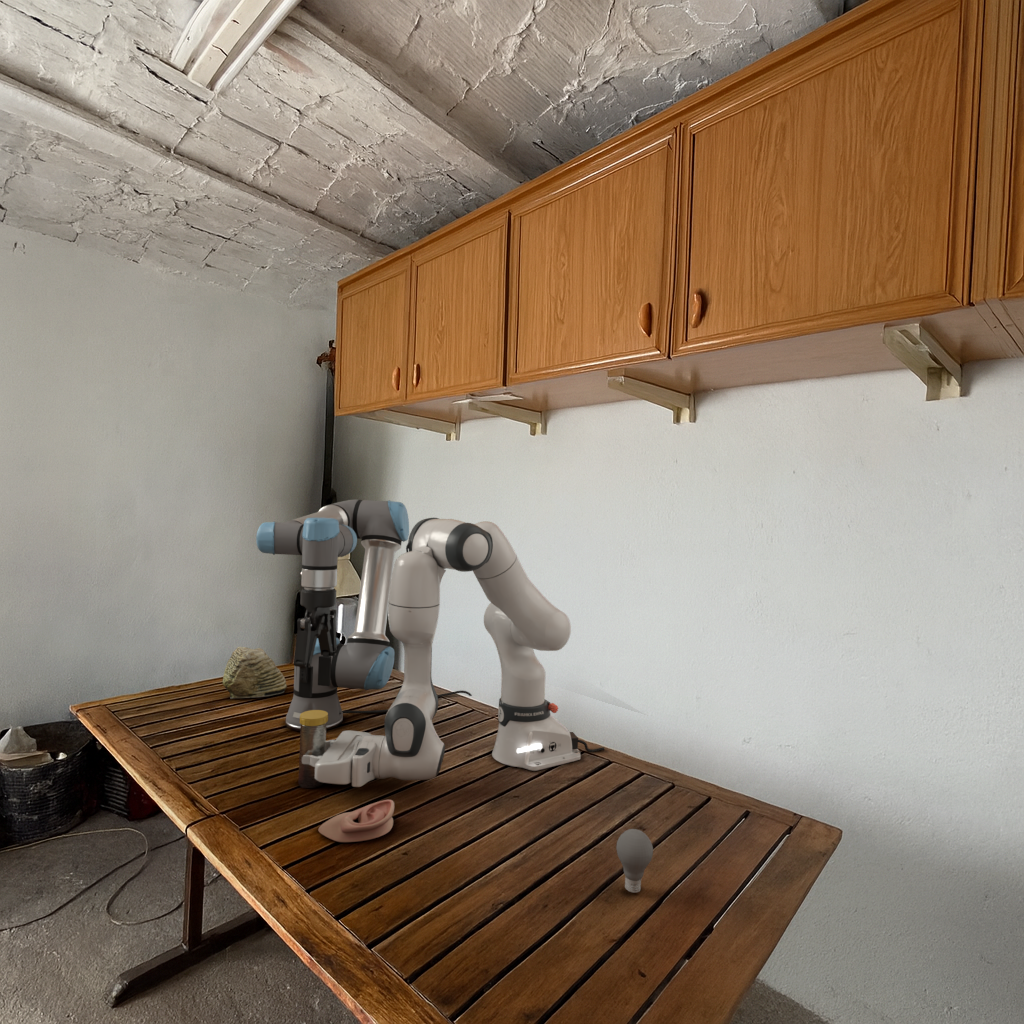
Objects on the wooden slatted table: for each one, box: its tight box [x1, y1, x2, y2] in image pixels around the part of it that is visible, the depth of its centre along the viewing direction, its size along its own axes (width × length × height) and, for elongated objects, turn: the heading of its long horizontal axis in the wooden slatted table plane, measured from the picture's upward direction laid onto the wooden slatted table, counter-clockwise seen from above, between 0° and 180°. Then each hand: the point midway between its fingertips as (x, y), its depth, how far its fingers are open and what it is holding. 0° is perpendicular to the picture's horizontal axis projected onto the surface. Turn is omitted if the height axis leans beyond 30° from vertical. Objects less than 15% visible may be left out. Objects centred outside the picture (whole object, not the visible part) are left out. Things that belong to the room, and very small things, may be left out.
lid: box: [300, 710, 328, 726], centre depth 140 cm, size 6×6×2 cm
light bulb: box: [615, 828, 654, 894], centre depth 106 cm, size 6×6×10 cm
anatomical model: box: [317, 799, 395, 843], centre depth 122 cm, size 13×4×12 cm
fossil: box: [222, 646, 288, 699], centre depth 198 cm, size 9×18×15 cm, turn 132°
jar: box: [298, 722, 327, 789], centre depth 140 cm, size 5×5×15 cm
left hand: (314, 690), depth 140 cm, fingers open, 8 cm apart
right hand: (308, 752), depth 140 cm, fingers closed on jar, 5 cm apart
